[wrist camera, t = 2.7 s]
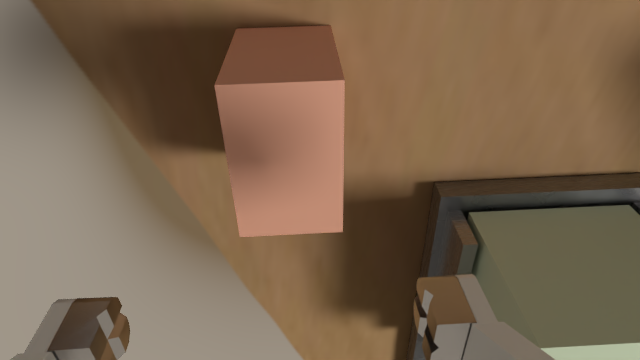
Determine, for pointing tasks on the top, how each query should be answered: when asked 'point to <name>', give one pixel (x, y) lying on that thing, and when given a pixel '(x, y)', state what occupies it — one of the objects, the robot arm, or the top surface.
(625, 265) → the pale green block
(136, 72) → the top surface
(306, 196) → the block
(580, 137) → the top surface
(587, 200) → the tray
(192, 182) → the top surface
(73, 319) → the robot arm
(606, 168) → the top surface
